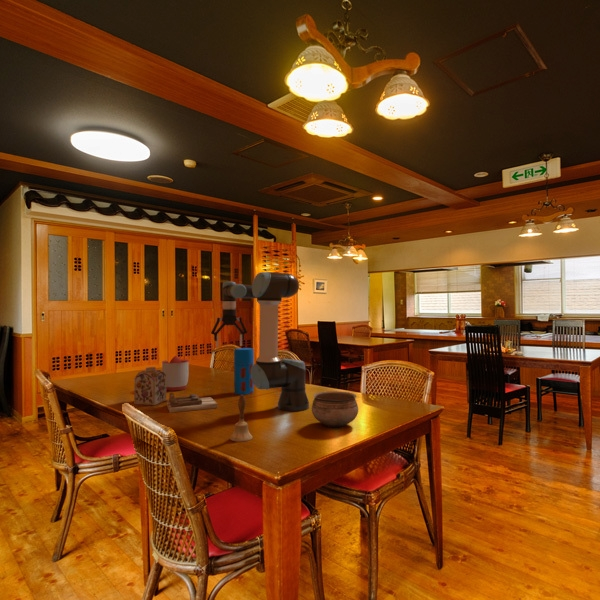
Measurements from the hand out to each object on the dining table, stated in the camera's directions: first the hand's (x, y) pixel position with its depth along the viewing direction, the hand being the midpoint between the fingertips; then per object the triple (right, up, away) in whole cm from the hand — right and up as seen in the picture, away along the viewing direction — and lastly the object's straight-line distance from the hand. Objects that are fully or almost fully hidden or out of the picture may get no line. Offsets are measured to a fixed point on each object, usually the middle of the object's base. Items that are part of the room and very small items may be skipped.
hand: (229, 346), depth 226 cm
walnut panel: (-16, -24, -32) cm, 43 cm away
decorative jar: (-37, -27, -22) cm, 50 cm away
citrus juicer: (-35, -27, +13) cm, 46 cm away
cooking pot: (+54, -25, -64) cm, 88 cm away
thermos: (+8, -27, +1) cm, 28 cm away
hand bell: (+19, -25, -80) cm, 85 cm away
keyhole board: (-13, -26, -31) cm, 42 cm away
